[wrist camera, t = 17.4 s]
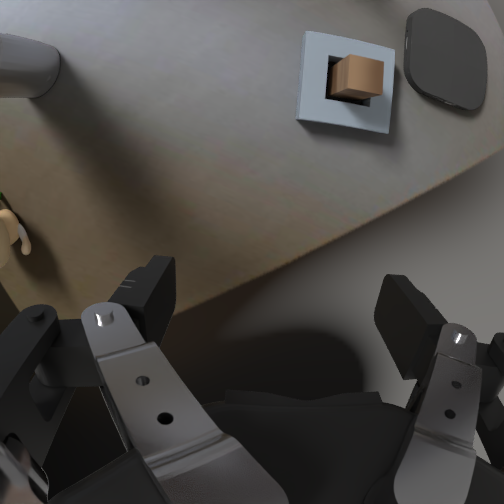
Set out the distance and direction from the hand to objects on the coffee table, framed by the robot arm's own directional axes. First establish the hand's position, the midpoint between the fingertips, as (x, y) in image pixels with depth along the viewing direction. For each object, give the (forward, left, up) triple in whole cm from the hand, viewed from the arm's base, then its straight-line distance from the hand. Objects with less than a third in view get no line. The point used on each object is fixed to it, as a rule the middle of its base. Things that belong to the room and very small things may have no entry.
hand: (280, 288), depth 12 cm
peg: (-4, +16, -33) cm, 37 cm away
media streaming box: (0, +34, -34) cm, 48 cm away
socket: (-4, +16, -33) cm, 37 cm away
